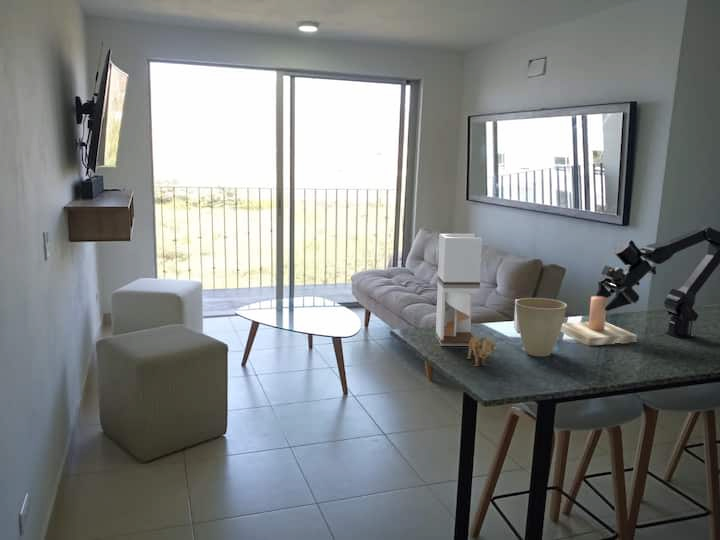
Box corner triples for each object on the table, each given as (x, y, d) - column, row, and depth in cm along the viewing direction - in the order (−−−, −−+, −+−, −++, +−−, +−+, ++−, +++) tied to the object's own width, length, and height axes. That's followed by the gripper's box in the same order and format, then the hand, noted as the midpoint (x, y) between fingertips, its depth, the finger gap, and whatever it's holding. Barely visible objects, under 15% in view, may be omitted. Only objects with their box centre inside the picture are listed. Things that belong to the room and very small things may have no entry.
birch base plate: (602, 327, 209) (603, 321, 208) (636, 342, 192) (636, 335, 191) (557, 330, 205) (558, 323, 205) (587, 345, 188) (588, 338, 187)
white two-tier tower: (441, 347, 184) (445, 237, 178) (435, 337, 195) (439, 233, 189) (476, 347, 185) (482, 238, 178) (469, 337, 195) (474, 234, 189)
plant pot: (561, 348, 185) (565, 299, 182) (564, 363, 171) (568, 310, 168) (512, 343, 189) (515, 296, 186) (512, 358, 175) (515, 306, 172)
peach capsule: (604, 328, 199) (607, 296, 197) (603, 331, 195) (606, 299, 193) (589, 326, 201) (591, 295, 199) (587, 329, 197) (590, 298, 195)
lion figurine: (497, 369, 165) (499, 339, 163) (481, 371, 163) (482, 340, 162) (473, 353, 179) (474, 325, 177) (457, 355, 177) (458, 326, 175)
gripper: (604, 253, 203) (572, 284, 204) (633, 262, 185) (597, 296, 186) (624, 275, 205) (591, 306, 206) (654, 286, 187) (618, 320, 188)
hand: (599, 306), depth 197 cm, fingers open, 9 cm apart
